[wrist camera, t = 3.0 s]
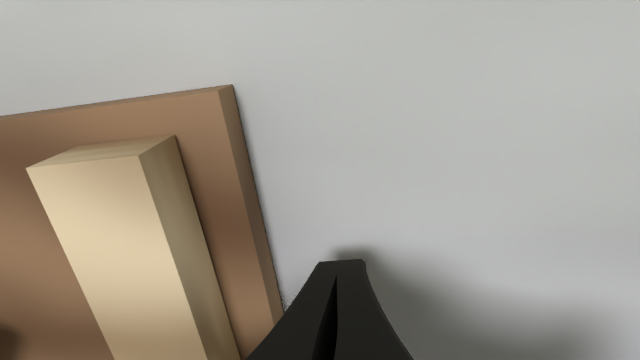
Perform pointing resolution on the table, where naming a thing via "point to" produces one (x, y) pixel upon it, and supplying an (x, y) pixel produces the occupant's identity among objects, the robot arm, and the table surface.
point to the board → (208, 195)
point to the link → (137, 248)
